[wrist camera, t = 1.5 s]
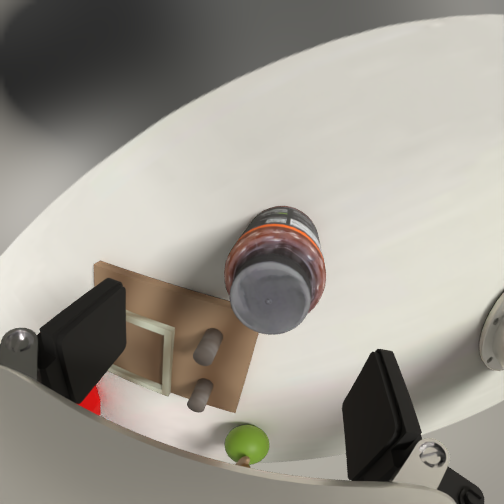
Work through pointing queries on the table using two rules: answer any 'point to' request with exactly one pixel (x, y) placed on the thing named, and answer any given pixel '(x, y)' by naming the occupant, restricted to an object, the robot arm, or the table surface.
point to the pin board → (181, 341)
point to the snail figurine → (246, 445)
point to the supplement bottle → (275, 271)
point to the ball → (92, 401)
